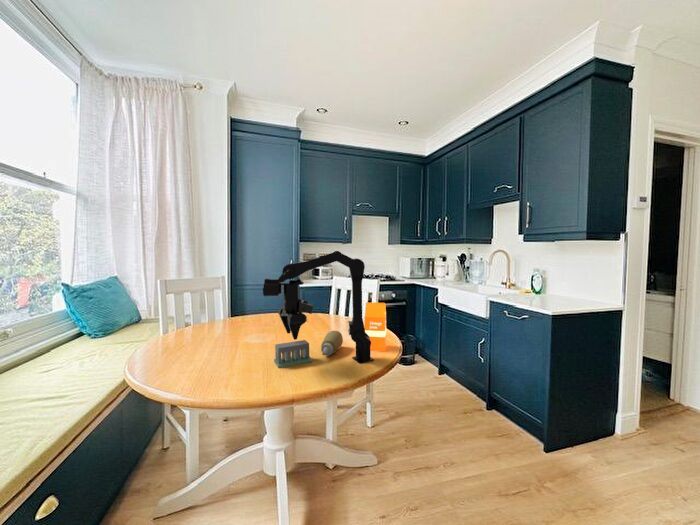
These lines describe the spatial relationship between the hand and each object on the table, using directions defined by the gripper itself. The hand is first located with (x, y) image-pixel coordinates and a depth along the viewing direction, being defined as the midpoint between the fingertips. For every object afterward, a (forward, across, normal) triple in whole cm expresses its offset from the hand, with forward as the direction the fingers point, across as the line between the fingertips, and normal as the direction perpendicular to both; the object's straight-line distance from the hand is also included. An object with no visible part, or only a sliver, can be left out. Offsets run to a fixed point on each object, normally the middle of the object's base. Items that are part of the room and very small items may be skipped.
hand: (291, 336), depth 115 cm
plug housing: (+9, 0, 0) cm, 9 cm away
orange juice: (+10, -1, -37) cm, 39 cm away
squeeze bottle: (+6, +9, -23) cm, 25 cm away
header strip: (+10, 0, 0) cm, 10 cm away
